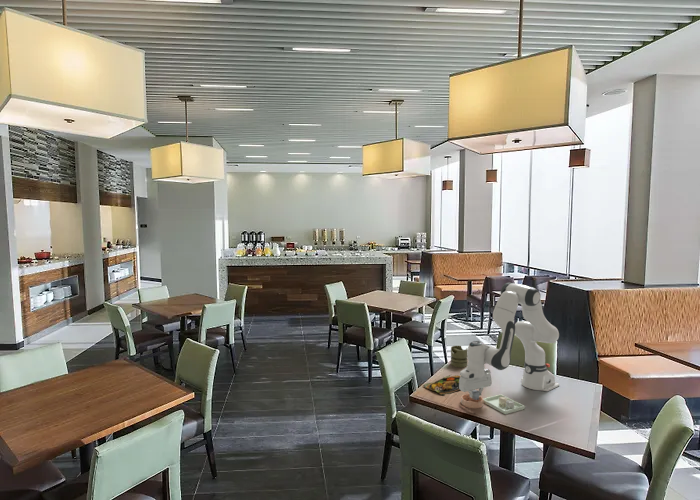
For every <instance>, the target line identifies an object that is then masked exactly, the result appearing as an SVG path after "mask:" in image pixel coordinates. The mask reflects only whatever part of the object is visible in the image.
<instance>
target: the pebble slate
mask: <svg viewBox="0 0 700 500" xmlns="http://www.w3.org/2000/svg"><path fill="white" fill-rule="evenodd" d="M472 394H474V397H473V398H472V399H474V400H479V389H475V390H473V391H472Z"/></svg>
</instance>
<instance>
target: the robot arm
mask: <svg viewBox="0 0 700 500" xmlns="http://www.w3.org/2000/svg"><path fill="white" fill-rule="evenodd" d="M519 305H520V306H521V312H522V317H523V318H524V320H519V321H516V323H515V316H516V314H517V313H516V312H517V310H518V306H519ZM542 306H543V305H542V301H541V293H540V291H539V289H537V288H535V287H532V286H528V285H525V284H520V283H513V282H506V283H504V284H503V285H502V286H501V289H500V296H499V298H498V300H497V301H496V304H495V306H494V309H493V311H492V319H493V321H494V323H495V324H496V325H497V326H498V327H499V328H500V330H501V331H502V335H501V341H500V344H499V348H497V347H494V346H492V345H489V344H485V343H484V342H483V341H481V340H473V341H471V342H469V343H468V346H467V348H468V356H467V367H464V368H463V369H462V370H460V372H459V376H461V377H460V379H459V389H460V390H459V391H461V392H464V393H466V392H467V393H468V394H470V397H471V398H473V397H474V394H472V391H473V390H478V391H479V396H481V397H482V392H483V391H484V388H487V387H488V388H489V387H491V385H492V382H493V381H492V375H491V374H492V372H491V370H490V369H489V368H486V369H485V365H486V364H487V365H489V366H492V367H493V368H495V369H496V370H498V371H503V370H505V369H507V368H509V366H510V365H511V360H512V359H511V356H512V355H511V354H512V350H513V349H512V348H513V344H514V339H515V337H517V338H518V339H519V341H521V343H522V346H523V349H524V363H523V364H524V365H523V368H524V369H523V374H522V378H521V386H523V387H525V388H526V389H530V390H534V391H542V392H543V391H544V392H549V391H551V390H553V389H555V388H557V387H559V386H560V383H558V382H557V381H556V377H555V375H554V374H553V373H552V372H550V371H549V370H548V368H550V366H551V364H550V363H546V352H545V350H544V348H543V347H541V346H540V345H538V342H540V343H544V344H555V343H556V342H557V341H558V340H559V337H560V333H559V330H558V328H557V327H556V326H555V325H553V324H551V322H549V321H548V320H547V318H546V316H545V314H544V311H543V307H542Z"/></svg>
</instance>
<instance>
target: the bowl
mask: <svg viewBox="0 0 700 500" xmlns="http://www.w3.org/2000/svg"><path fill="white" fill-rule="evenodd" d="M483 398H484V397H483V396H482V395H481V396H479V400H474V399H472V398H471V397H470V394H469V393H464V394H462V395H461V396H460V403H461V405H462V406H463V407H464V408H466V407H467V408H469V409H480V408H483V406H484V404H485V403H484V400H483Z"/></svg>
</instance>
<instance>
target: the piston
mask: <svg viewBox="0 0 700 500" xmlns="http://www.w3.org/2000/svg"><path fill="white" fill-rule="evenodd" d="M450 365H451V366H452V367H455V368H461V369H462V368H466V367H467V365H468V347H466V348H465V349H463V348H462V345H453V346H450Z"/></svg>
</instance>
